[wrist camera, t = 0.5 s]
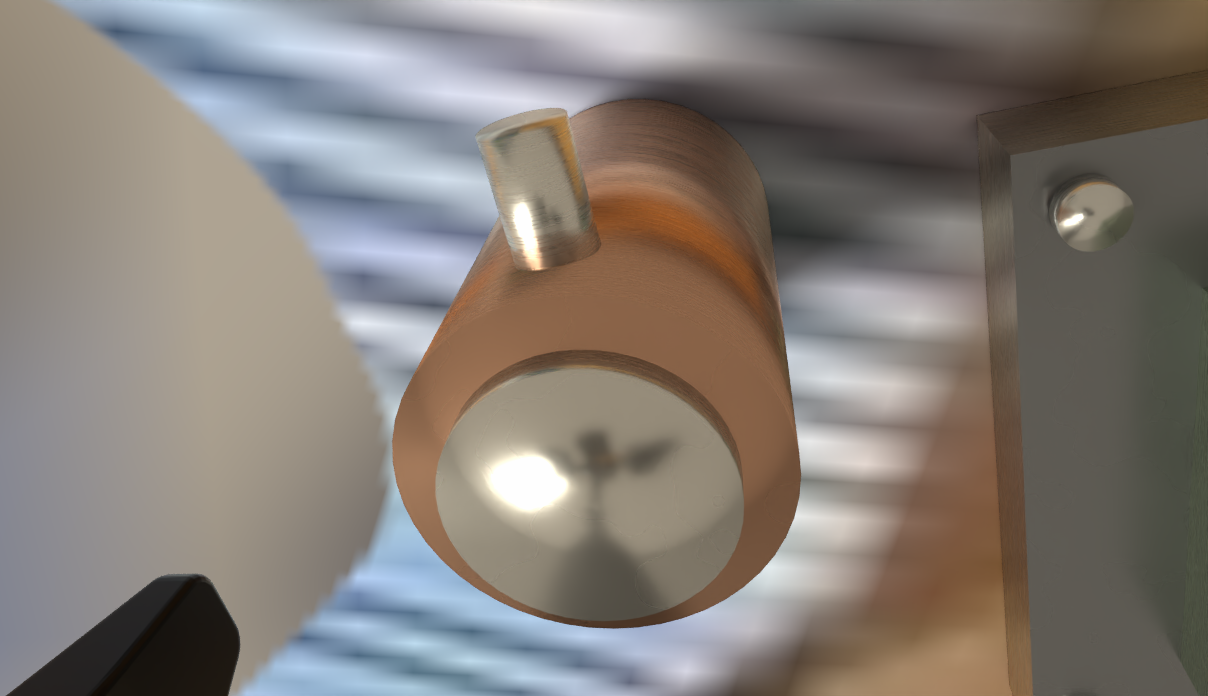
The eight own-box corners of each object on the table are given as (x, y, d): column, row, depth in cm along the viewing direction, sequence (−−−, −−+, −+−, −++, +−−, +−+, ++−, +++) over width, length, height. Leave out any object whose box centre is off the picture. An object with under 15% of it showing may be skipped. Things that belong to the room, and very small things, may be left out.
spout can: (786, 316, 21) (830, 640, 13) (551, 354, 22) (453, 674, 14) (730, -19, 18) (740, 128, 10) (457, 45, 19) (257, 226, 11)
